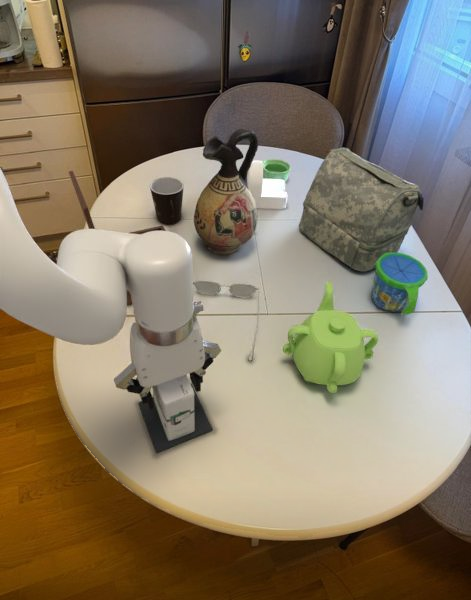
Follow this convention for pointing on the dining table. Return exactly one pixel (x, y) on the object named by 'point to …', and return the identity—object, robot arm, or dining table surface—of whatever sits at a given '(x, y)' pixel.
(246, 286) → the eyeglasses
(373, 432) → the dining table surface
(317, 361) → the teapot
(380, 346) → the dining table surface
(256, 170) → the bracket
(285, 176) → the ramekin
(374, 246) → the lunch bag
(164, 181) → the coffee mug
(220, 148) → the ceramic jug
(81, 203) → the lid
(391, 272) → the sippy cup
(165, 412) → the ink box
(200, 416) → the mat
